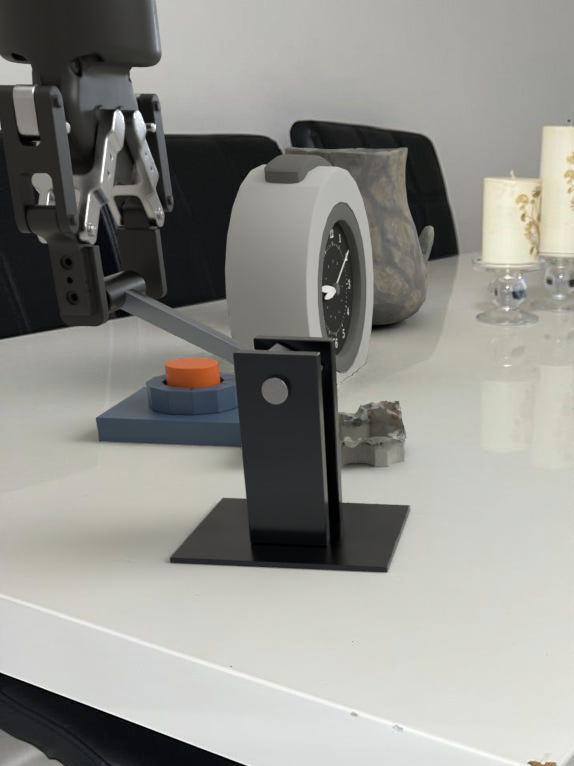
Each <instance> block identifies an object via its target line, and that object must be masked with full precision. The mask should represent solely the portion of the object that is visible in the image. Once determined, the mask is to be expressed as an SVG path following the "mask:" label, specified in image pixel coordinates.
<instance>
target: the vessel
mask: <svg viewBox="0 0 574 766" xmlns="http://www.w3.org/2000/svg"><path fill="white" fill-rule="evenodd" d="M283 149H284V151H283V152H284V154H293V155H316V156H320V157H322V158H324V159H325V160H327V161H328V162H329V163H330V164H331V165H332V166H333V167H339V168H342V169H345V170H347V171H348V172H349V173H350V175H351V176H352V178H353V179H354V180H355V182H356V184H357V186H358V189H359V191H360V194H361V196H362V199H363V203H364V207H365V211H366V215H367V219H368V225H369V232H370V239H371V246H372V260H373V314H372V326H386V325H391V324H394V323H398V322H402V321H404V320H407V319H409V318H411V317H413V316H414V315H415V314H416V313H417V312H419V310H420V309H421V308H422V306H423V305H424V303H425V301H426V299H427V294H428V291H429V277H428V272H427V267H428V261H429V258H430V256H431V252H432V248H433V245H434V239H435V229H434V227H433V226H432V225H426V226H425V227H423V229H422V231H421V233H420V235H419V236H418V231H417V228H416V227H417V226H416V224H415V221H414V219H413V217H412V214H411V210H410V207H409V203H408V197H407V196H408V195H407V188H406V187H407V186H406V168H407V167H406V165H407V158H408V152H409V151H408V149H409V148H408V147H406V146H405V147H398V148H367V147H356V148H353V147H351V148H335V149H333V148H332V149H330V148H329V149H328V148H317V147H316V148H315V147H295V146H289V147H288V146H287V147H284V148H283Z"/></svg>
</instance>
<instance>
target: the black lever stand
mask: <svg viewBox="0 0 574 766" xmlns="http://www.w3.org/2000/svg"><path fill="white" fill-rule="evenodd" d="M253 341H254V349H255V350H242V349H239V350H237V351H235V352H234V353H233V360H234V364H233V369H234V375H235V381H236V392H237V403H238V414H239V425H240V436H241V447H240V448H241V455H242V466H243V477H244V489H245V498H242V497H241V498H240V497H222V498H221V499H220V500H219V501H218V502H217V504H216V505H214V507H213V508H212V509H211V510H210V512H209V513H208V514H207V515H206V516H205V517H204V518H203V520H202V521H200V523H199V524H198V525H197V526H196V527H195V528H194V529H193V530H192V532H191V533H190V534H189V535H188V536H187V538H186V539H184V541H183V542H181V544H180V545H179V546H178V548H177V549H176V550H174V552H173V553H172V554H171V556H169V563H170V564H180V565H181V564H184V565H203V566H205V565H206V566H227V567H229V566H230V567H250V568H251V567H252V568H270V569H271V568H273V569H275V568H276V569H295V570H297V569H298V570H299V569H300V570H317V571H318V570H321V571H343V572H362V573H363V572H364V573H388V572H389V569H390V567H391V565H392V561H393V558H394V556H395V553H396V550H397V547H398V544H399V542H400V539H401V537H402V534H403V531H404V529H405V526H406V523H407V520H408V518H409V515H410V512H411V505H410V504H390V503H388V504H387V503H385V504H384V503H364V502H363V503H362V502H343V487H342V486H343V484H342V467H341V462H340V440H339V418H338V413H339V401H338V399H339V397H338V384H337V374H336V352H335V338H328V337H298V336H267V335H258V336H256V337H255V338H254V339H253ZM276 344H280V345H282V346H284V347H286V348H288V349H290V350H292V351H272V350H269V349H271V348H272V347H273V346H274V345H276ZM321 365H322V366H323V369H322V371H321Z"/></svg>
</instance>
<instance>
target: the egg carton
mask: <svg viewBox="0 0 574 766" xmlns="http://www.w3.org/2000/svg"><path fill="white" fill-rule="evenodd" d="M338 418H339V440H340V462H341V468H342V467H343V466H346V465H349V464H355V463H357V464H358V463H359V464H361V463H363V464H367V465H368V464H369V465H372V466H374V468H389V467H390V466H392V465H393V464H396V463H405V458H406V456H405V455H406V454H405V444H406V443H407V440H406V439H407V438H408V437H407V436H408V435H407V431H406V428H405V425H404V422H403V412H402V407H401V406H400V400H394V401H387V400H381V401H379V402H373V401H371V402H369V403H366V404H360V405H359V406H358V409H357V411H356V412H355V413H352V412H346V411H338Z"/></svg>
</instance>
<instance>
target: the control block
mask: <svg viewBox="0 0 574 766" xmlns="http://www.w3.org/2000/svg"><path fill="white" fill-rule="evenodd" d="M219 374H220V384H217V385H213V386H208V387H197V388H181V387H172V386H167V380H166V373H165V374H160V375H156V376H153V377H151V378H149V380H147V381H145V386H143V387H142V388H140V389H138V390H137V391H135V392H134V393H131V394H130V395H129V396H127V397H126V398H124V399H122V400H121V401H119V402H118V403H116V404H115V405H113V406H111V407H110V408H108V409H107V410H105V411H104V412H102V413H101V414H99V415H98V416H96V417H95V423H96V428H97V435H98V441H99V442H101V443H103V442H104V443H128V444H130V443H131V444H154V445H178V446H179V445H181V446H207V447H233V448H235V447H236V448H242V447H241V436H240V425H239V414H238V403H237V392H236V381H235V374H231V373H227V372H222V371H219Z"/></svg>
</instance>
